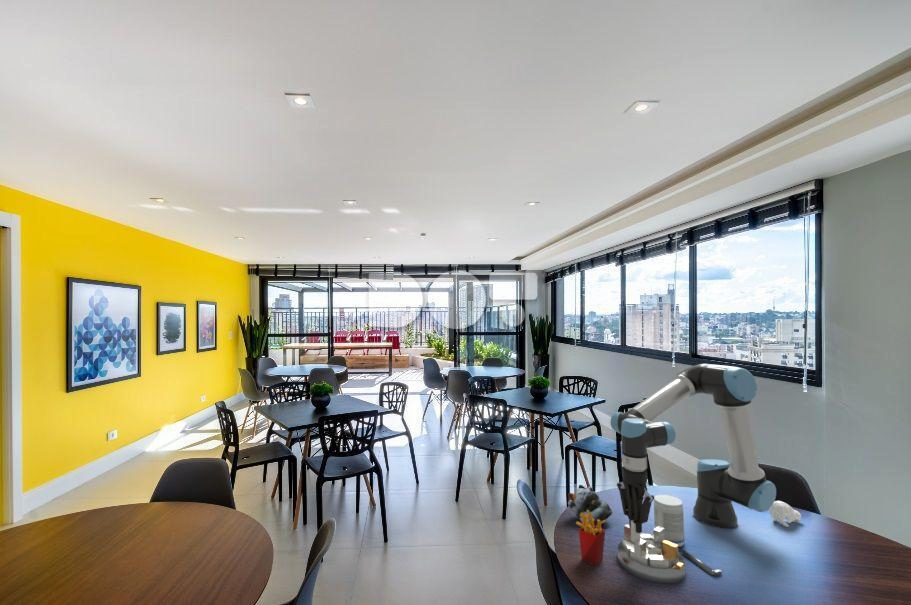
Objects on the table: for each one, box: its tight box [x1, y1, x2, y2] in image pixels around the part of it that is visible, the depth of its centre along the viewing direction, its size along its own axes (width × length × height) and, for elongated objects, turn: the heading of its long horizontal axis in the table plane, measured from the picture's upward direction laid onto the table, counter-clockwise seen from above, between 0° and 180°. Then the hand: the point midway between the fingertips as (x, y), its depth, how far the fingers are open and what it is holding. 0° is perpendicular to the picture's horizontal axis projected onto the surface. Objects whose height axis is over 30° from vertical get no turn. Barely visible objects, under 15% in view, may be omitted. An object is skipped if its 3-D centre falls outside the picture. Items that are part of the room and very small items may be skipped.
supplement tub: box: [653, 494, 685, 548], centre depth 148 cm, size 10×10×15 cm
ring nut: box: [622, 523, 680, 569], centre depth 134 cm, size 16×16×6 cm
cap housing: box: [617, 539, 686, 584], centre depth 134 cm, size 20×20×6 cm
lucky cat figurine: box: [567, 484, 613, 526], centre depth 163 cm, size 15×12×14 cm
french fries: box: [575, 510, 607, 567], centre depth 136 cm, size 9×8×15 cm
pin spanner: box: [680, 549, 723, 577], centre depth 134 cm, size 13×3×2 cm, turn 14°
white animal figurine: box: [768, 500, 802, 528], centre depth 161 cm, size 6×8×12 cm
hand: (635, 540), depth 132 cm, fingers closed
